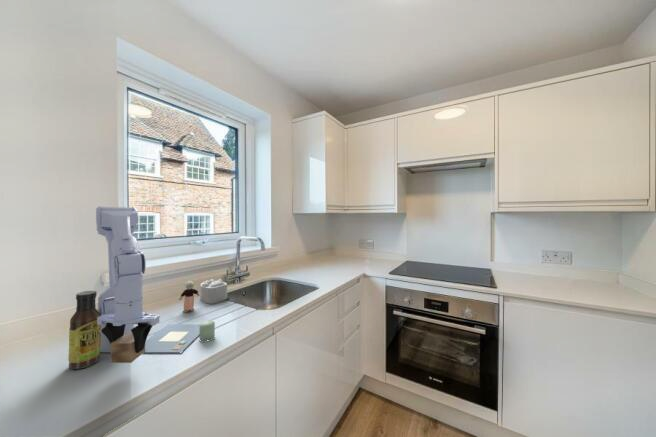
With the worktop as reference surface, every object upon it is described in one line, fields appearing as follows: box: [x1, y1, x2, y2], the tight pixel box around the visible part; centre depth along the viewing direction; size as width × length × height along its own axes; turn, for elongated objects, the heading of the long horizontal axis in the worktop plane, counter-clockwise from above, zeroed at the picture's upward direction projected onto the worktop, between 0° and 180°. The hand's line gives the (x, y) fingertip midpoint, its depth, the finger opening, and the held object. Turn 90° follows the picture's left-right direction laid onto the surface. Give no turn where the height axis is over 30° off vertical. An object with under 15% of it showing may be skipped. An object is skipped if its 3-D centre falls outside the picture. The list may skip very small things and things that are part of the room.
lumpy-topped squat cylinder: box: [199, 278, 228, 304], centre depth 120 cm, size 10×13×9 cm
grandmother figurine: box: [178, 280, 200, 313], centre depth 105 cm, size 8×4×13 cm, turn 143°
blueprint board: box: [143, 323, 200, 354], centre depth 82 cm, size 15×18×1 cm
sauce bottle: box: [68, 290, 101, 370], centre depth 68 cm, size 6×6×20 cm
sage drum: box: [198, 320, 216, 342], centre depth 83 cm, size 5×5×5 cm
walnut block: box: [110, 333, 145, 364], centre depth 64 cm, size 5×5×5 cm
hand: (128, 350), depth 64 cm, fingers closed on walnut block, 5 cm apart
